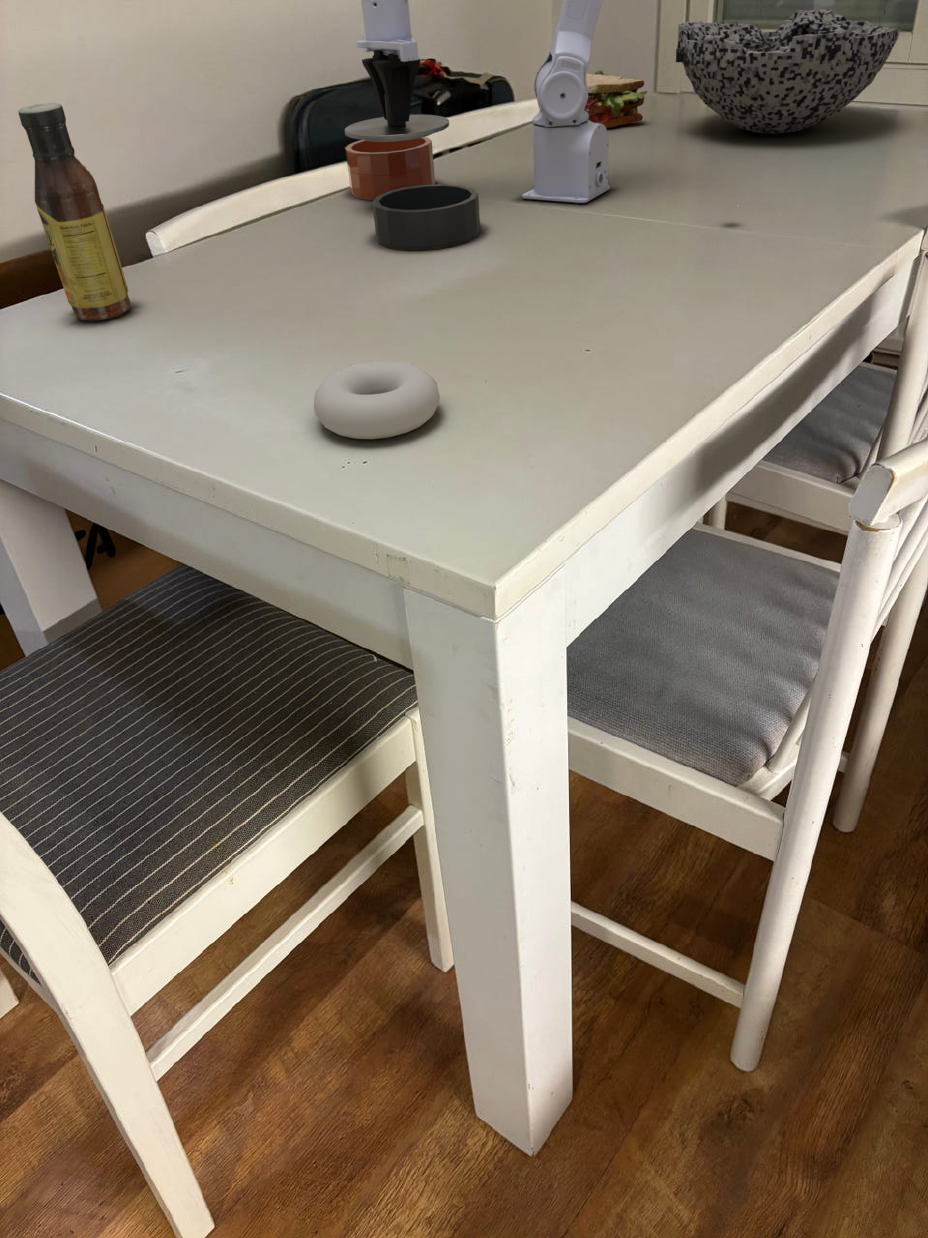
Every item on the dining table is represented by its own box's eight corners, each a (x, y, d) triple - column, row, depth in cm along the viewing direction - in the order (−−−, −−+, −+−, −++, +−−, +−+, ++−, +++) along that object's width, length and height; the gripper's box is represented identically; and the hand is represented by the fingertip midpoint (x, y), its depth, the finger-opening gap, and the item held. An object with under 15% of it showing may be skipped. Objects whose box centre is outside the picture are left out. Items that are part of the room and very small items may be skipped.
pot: (450, 182, 138) (447, 136, 135) (403, 203, 130) (398, 155, 127) (383, 177, 144) (378, 133, 140) (334, 197, 136) (328, 151, 132)
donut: (351, 389, 81) (294, 439, 74) (345, 350, 79) (286, 397, 72) (459, 399, 78) (411, 453, 71) (457, 359, 76) (406, 409, 69)
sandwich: (531, 127, 165) (530, 74, 160) (579, 114, 171) (579, 63, 167) (604, 136, 155) (605, 80, 150) (651, 122, 161) (654, 68, 157)
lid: (469, 125, 125) (466, 84, 123) (412, 147, 116) (408, 104, 114) (385, 121, 132) (381, 83, 129) (324, 142, 123) (318, 101, 120)
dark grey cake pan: (498, 225, 118) (496, 187, 116) (443, 254, 110) (440, 214, 107) (414, 217, 124) (411, 181, 121) (357, 244, 116) (351, 206, 113)
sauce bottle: (85, 304, 104) (22, 101, 92) (141, 301, 104) (84, 96, 92) (63, 326, 99) (-6, 113, 87) (122, 323, 99) (60, 109, 87)
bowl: (779, 162, 134) (794, 38, 125) (634, 134, 156) (637, 27, 147) (925, 125, 146) (949, 10, 137) (771, 103, 168) (783, 3, 159)
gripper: (334, -4, 119) (350, 116, 127) (372, 1, 108) (386, 132, 117) (387, -10, 121) (399, 109, 129) (429, -6, 110) (439, 124, 118)
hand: (396, 120), depth 123 cm, fingers closed on lid, 2 cm apart
